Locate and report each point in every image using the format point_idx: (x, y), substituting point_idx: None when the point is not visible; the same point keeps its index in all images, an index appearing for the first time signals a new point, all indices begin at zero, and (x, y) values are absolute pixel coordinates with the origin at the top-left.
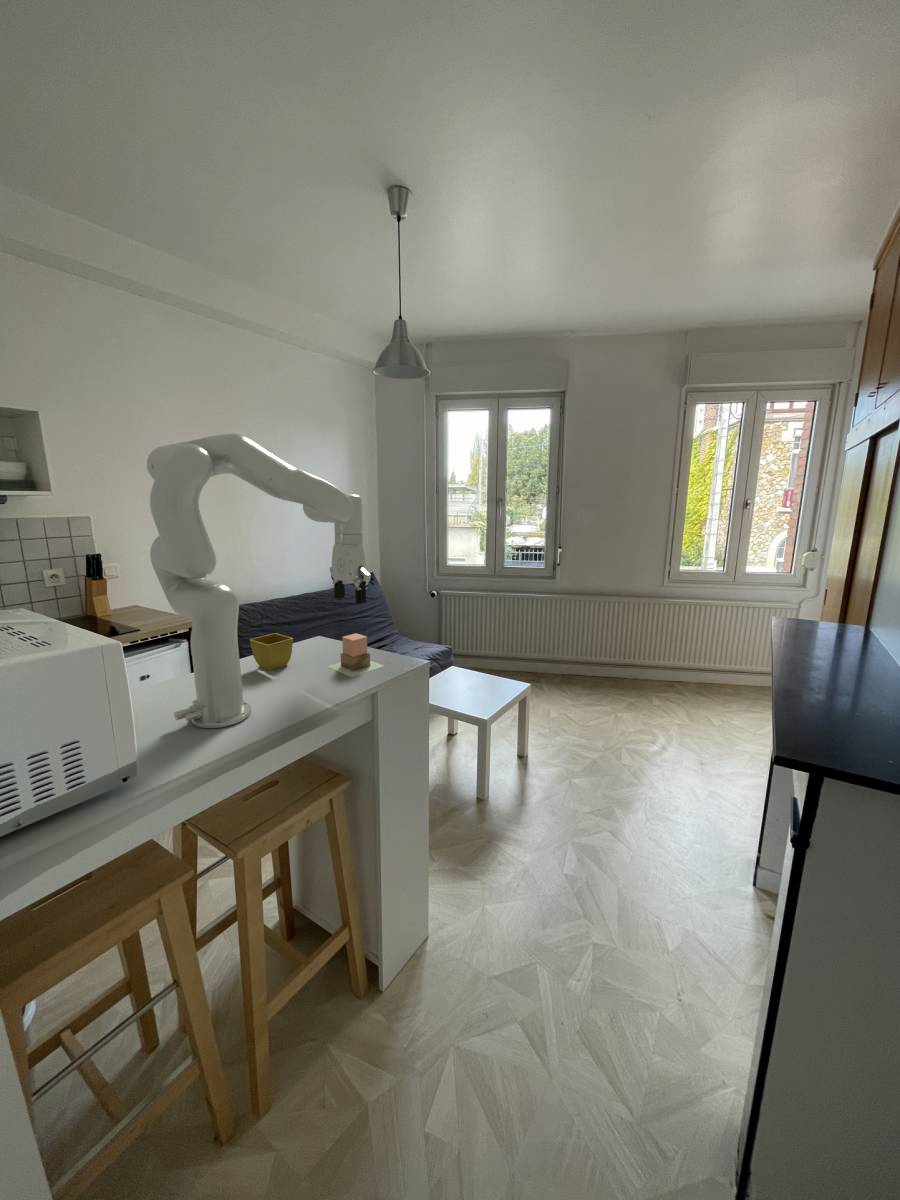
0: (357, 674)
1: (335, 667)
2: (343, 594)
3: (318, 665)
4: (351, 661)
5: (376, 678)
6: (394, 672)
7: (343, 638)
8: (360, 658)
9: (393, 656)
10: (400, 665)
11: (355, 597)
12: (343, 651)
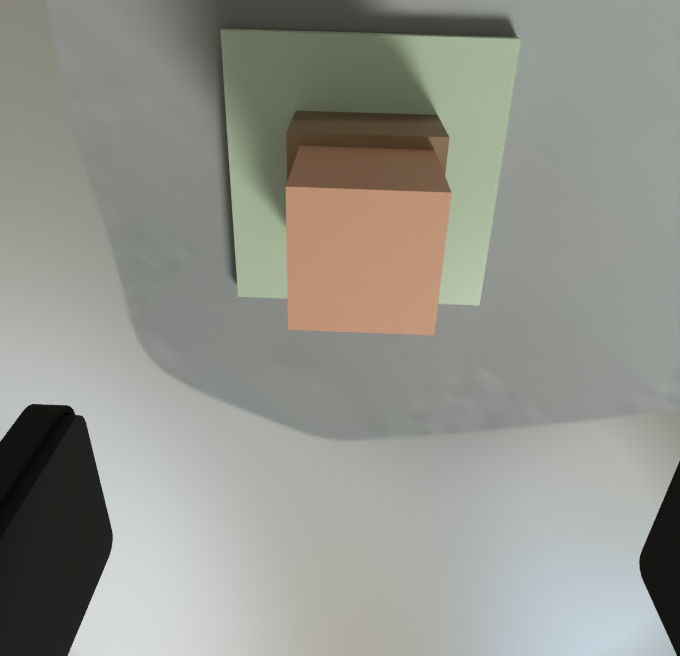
0: (233, 91)
1: (451, 72)
2: (665, 593)
3: (620, 43)
4: (311, 124)
5: (143, 156)
6: (155, 283)
7: (431, 188)
8: None
9: (353, 429)
10: (220, 368)
11: (29, 496)
12: (428, 155)
